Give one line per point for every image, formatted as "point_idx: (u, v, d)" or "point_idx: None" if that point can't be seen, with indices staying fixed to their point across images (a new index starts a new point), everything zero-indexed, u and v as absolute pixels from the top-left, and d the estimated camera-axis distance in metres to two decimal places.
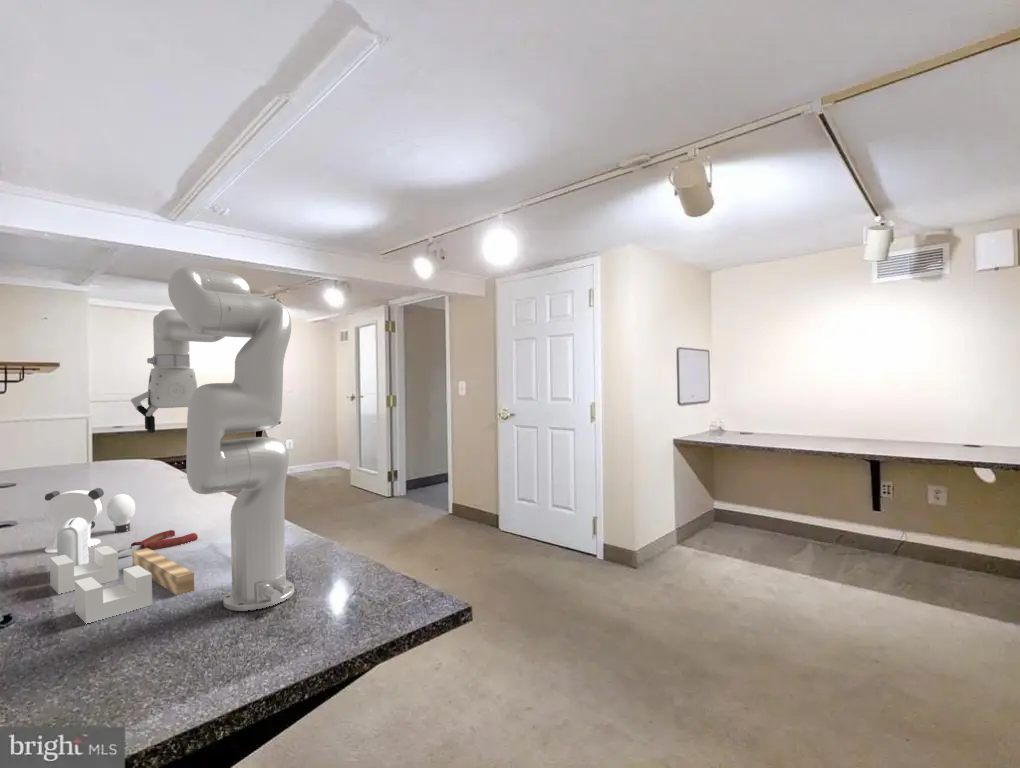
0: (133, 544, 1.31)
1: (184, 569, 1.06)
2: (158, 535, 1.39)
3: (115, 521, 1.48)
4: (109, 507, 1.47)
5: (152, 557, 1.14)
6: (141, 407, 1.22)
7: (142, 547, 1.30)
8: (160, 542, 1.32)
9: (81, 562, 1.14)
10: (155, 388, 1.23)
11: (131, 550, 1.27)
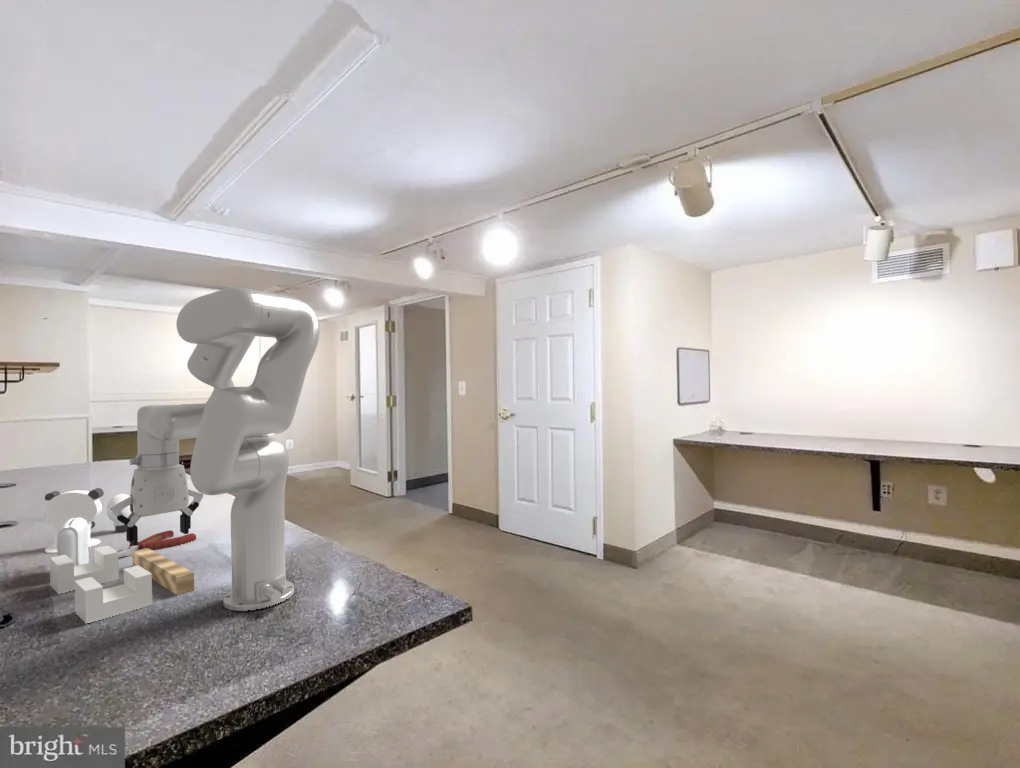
0: (131, 544, 1.31)
1: (184, 569, 1.06)
2: (157, 535, 1.39)
3: (115, 521, 1.48)
4: (109, 507, 1.47)
5: (152, 557, 1.14)
6: (122, 517, 1.05)
7: (140, 547, 1.29)
8: (158, 542, 1.32)
9: (81, 562, 1.14)
10: (138, 494, 1.06)
11: (129, 550, 1.27)
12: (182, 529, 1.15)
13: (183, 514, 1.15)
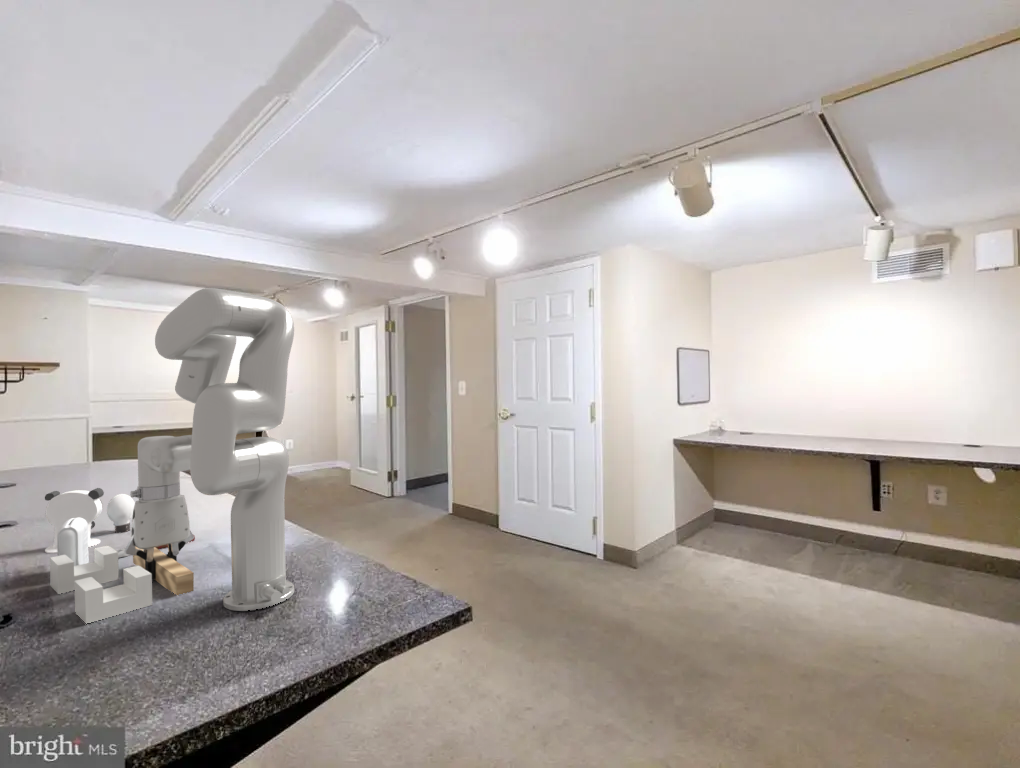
0: None
1: (184, 568, 1.06)
2: None
3: (115, 521, 1.48)
4: (109, 507, 1.47)
5: None
6: (141, 552, 1.08)
7: None
8: None
9: (81, 562, 1.14)
10: (139, 527, 1.06)
11: None
12: None
13: (169, 554, 1.12)
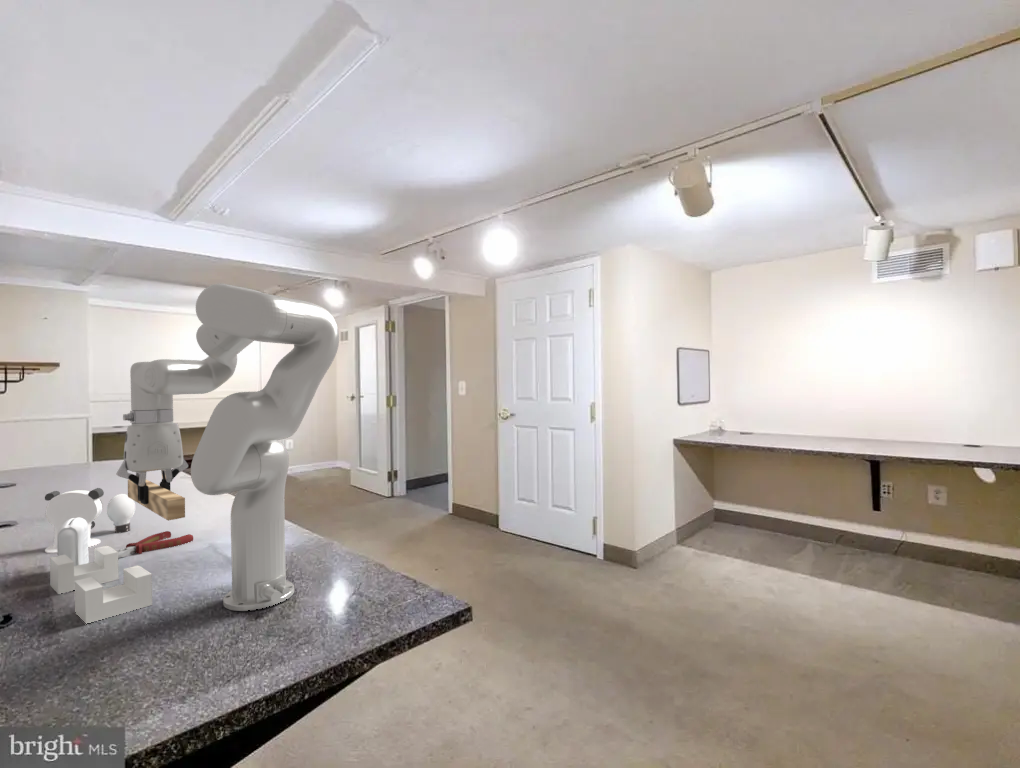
0: (128, 545, 1.30)
1: (176, 495, 1.05)
2: (154, 536, 1.38)
3: (115, 521, 1.48)
4: (109, 507, 1.47)
5: None
6: (133, 476, 1.07)
7: (137, 548, 1.29)
8: (155, 543, 1.31)
9: (81, 562, 1.14)
10: (132, 450, 1.06)
11: (125, 551, 1.26)
12: None
13: (162, 481, 1.12)
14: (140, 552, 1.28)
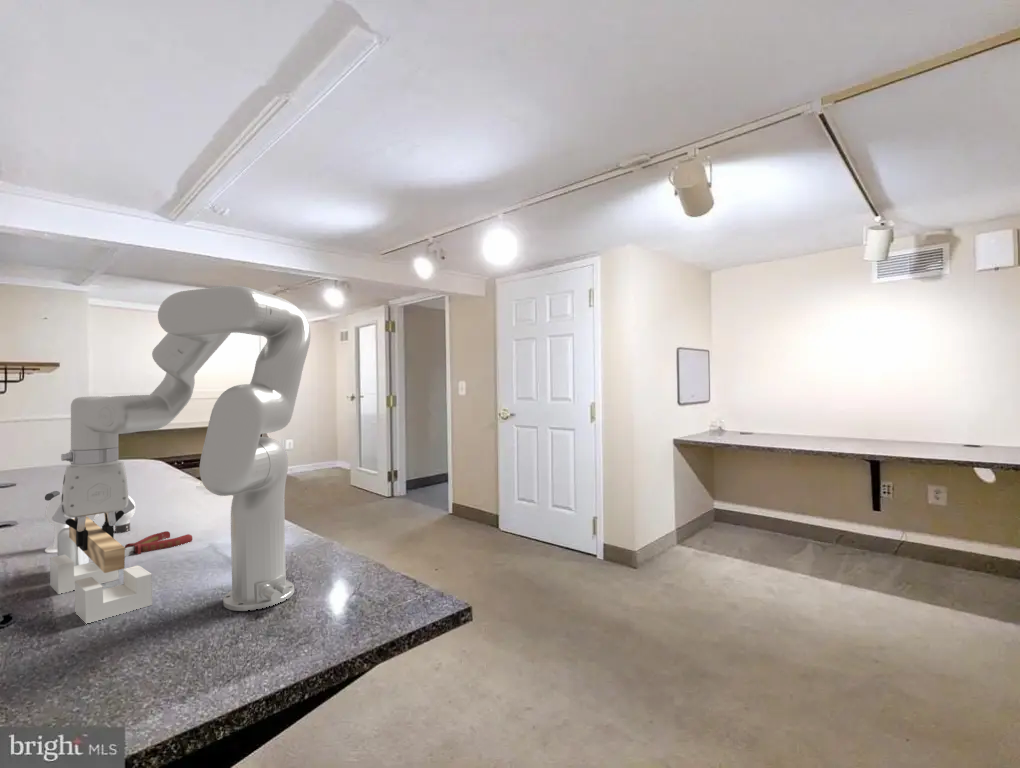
0: (127, 546, 1.30)
1: (116, 543, 0.97)
2: (153, 536, 1.38)
3: None
4: None
5: (87, 527, 1.06)
6: (71, 521, 0.99)
7: (136, 549, 1.28)
8: (154, 543, 1.31)
9: (81, 562, 1.14)
10: (69, 493, 0.98)
11: None
12: None
13: (105, 524, 1.04)
14: (139, 552, 1.28)
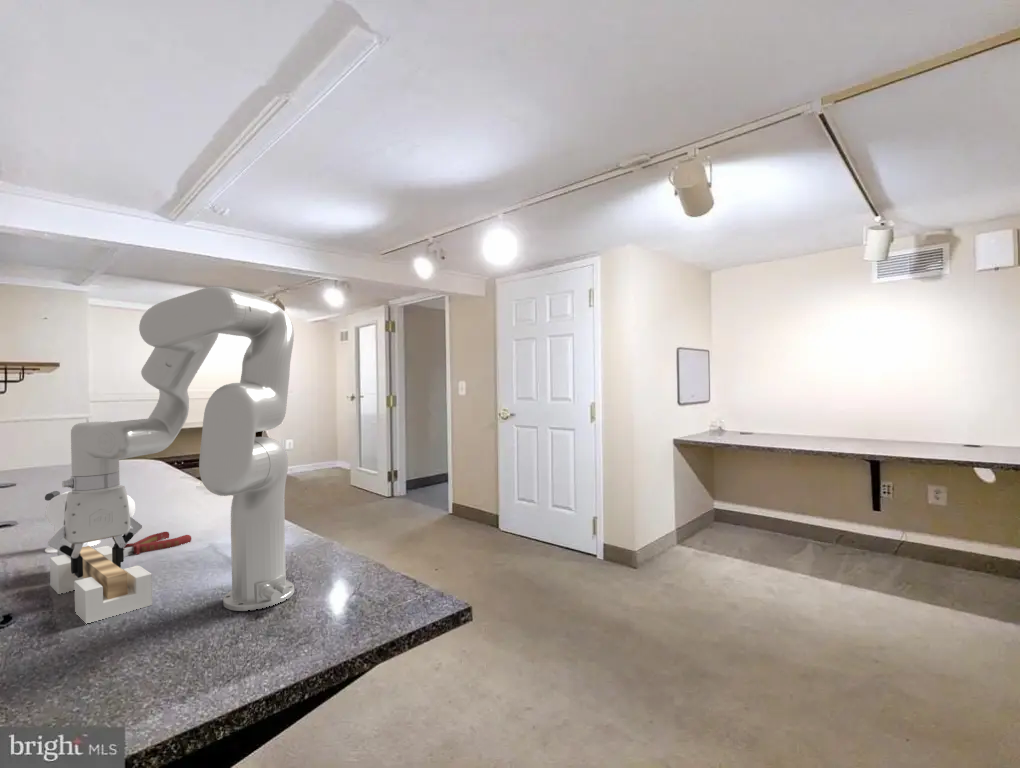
0: (126, 546, 1.30)
1: (118, 569, 0.97)
2: (152, 537, 1.38)
3: None
4: None
5: (89, 556, 1.06)
6: (65, 548, 0.98)
7: (134, 549, 1.28)
8: (153, 544, 1.31)
9: None
10: (71, 520, 0.98)
11: None
12: (114, 563, 1.05)
13: (115, 546, 1.05)
14: (138, 552, 1.28)
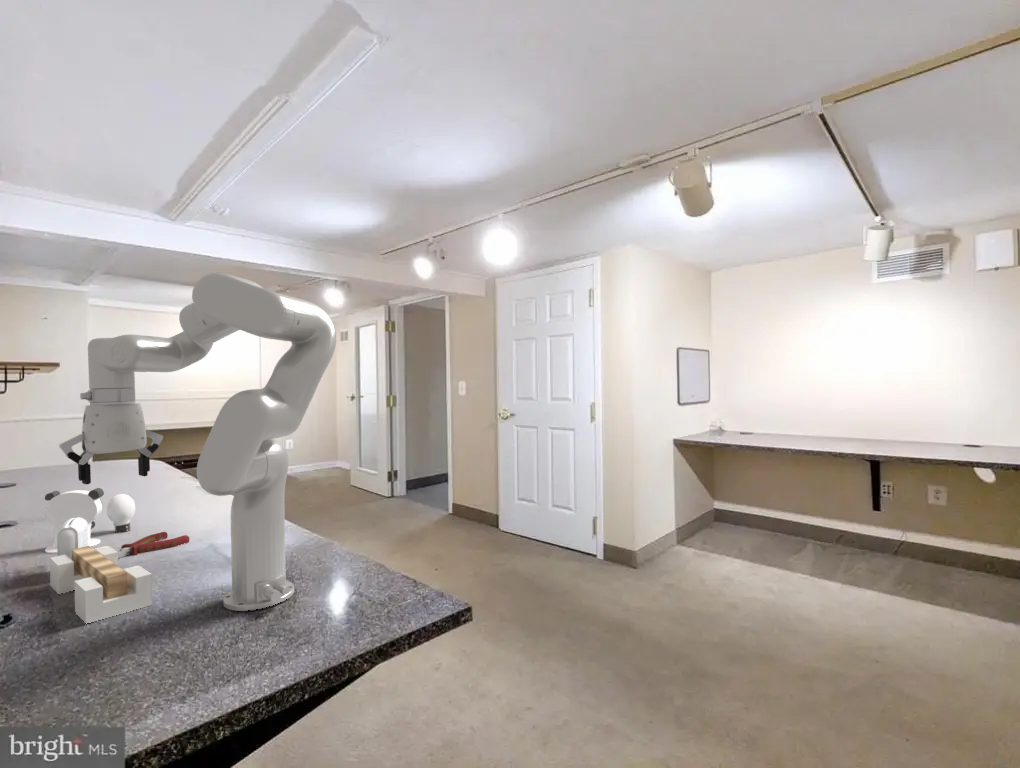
0: (123, 546, 1.29)
1: (118, 569, 0.97)
2: (150, 537, 1.37)
3: (115, 521, 1.48)
4: (109, 507, 1.47)
5: (89, 556, 1.06)
6: (72, 454, 0.99)
7: (132, 549, 1.28)
8: (150, 544, 1.30)
9: None
10: (90, 430, 1.00)
11: (120, 552, 1.25)
12: (140, 471, 1.09)
13: (141, 456, 1.09)
14: (135, 553, 1.27)
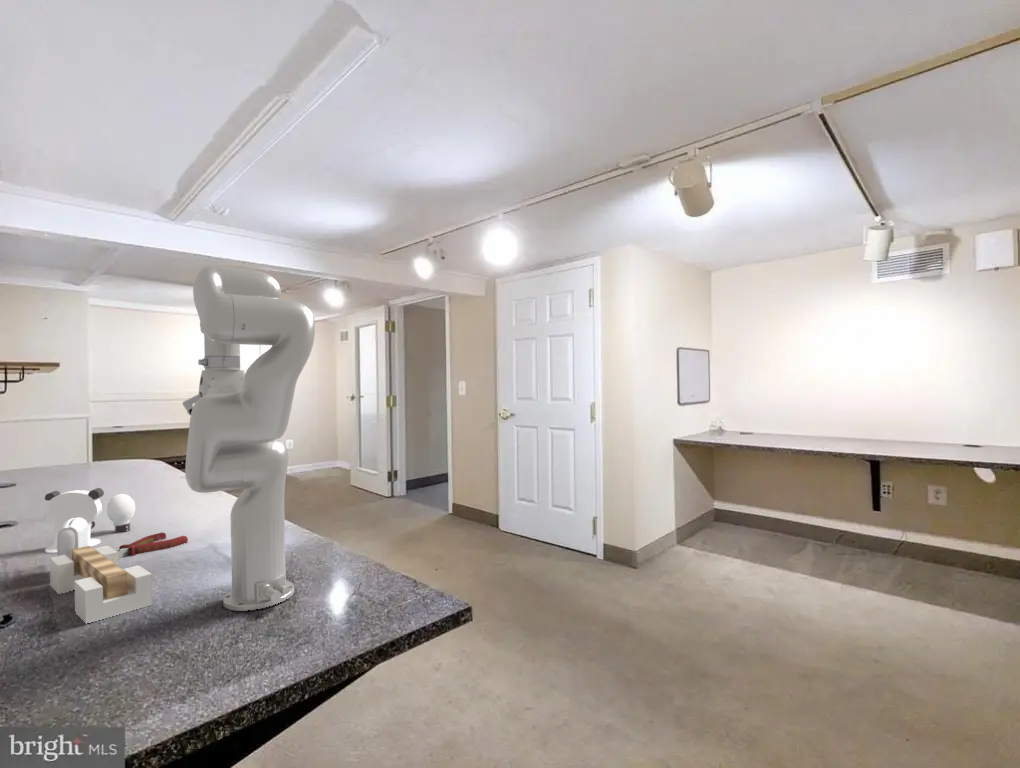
0: (121, 547, 1.29)
1: (118, 569, 0.97)
2: (148, 538, 1.37)
3: (115, 521, 1.48)
4: (109, 507, 1.47)
5: (89, 556, 1.06)
6: None
7: (130, 550, 1.28)
8: (148, 545, 1.30)
9: None
10: (207, 391, 1.18)
11: (118, 553, 1.25)
12: None
13: None
14: (133, 554, 1.27)
